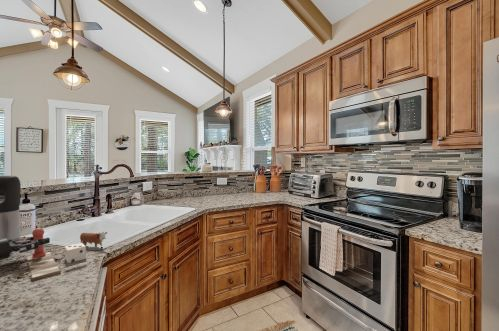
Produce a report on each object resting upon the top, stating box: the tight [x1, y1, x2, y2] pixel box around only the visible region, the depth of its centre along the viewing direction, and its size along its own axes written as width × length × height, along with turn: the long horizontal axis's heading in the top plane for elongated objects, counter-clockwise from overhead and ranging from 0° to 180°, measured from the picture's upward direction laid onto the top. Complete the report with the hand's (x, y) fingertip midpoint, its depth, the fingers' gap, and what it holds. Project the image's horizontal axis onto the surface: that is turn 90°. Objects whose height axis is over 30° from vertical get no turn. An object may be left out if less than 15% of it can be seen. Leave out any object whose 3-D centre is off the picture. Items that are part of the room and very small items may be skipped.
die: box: [64, 242, 87, 264], centre depth 101 cm, size 6×6×6 cm
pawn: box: [31, 227, 47, 258], centre depth 104 cm, size 4×4×12 cm
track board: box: [26, 251, 62, 282], centre depth 97 cm, size 25×8×1 cm, turn 45°
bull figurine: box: [79, 231, 108, 248], centre depth 114 cm, size 4×13×8 cm, turn 78°
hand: (45, 238), depth 106 cm, fingers open, 6 cm apart
